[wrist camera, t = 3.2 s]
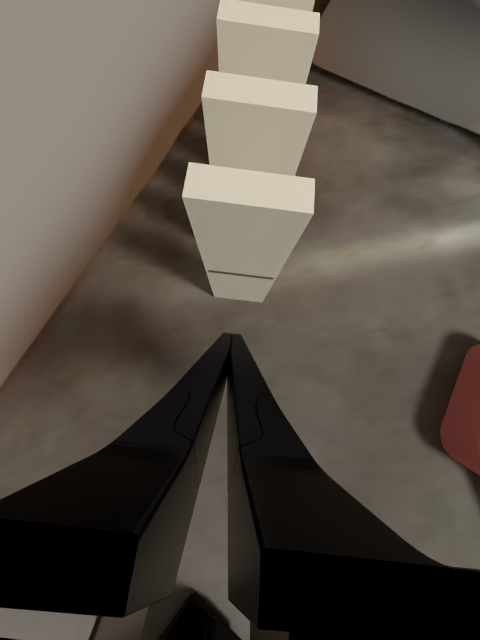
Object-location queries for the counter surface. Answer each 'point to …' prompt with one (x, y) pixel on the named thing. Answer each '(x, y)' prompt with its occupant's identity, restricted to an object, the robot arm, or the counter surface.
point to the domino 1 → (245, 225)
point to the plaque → (464, 415)
